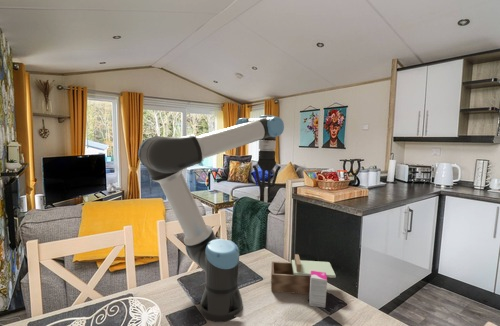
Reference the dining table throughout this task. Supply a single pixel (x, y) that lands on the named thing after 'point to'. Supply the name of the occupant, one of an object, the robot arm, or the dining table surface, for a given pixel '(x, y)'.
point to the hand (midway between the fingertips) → (265, 201)
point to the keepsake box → (288, 279)
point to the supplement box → (318, 289)
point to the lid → (311, 267)
